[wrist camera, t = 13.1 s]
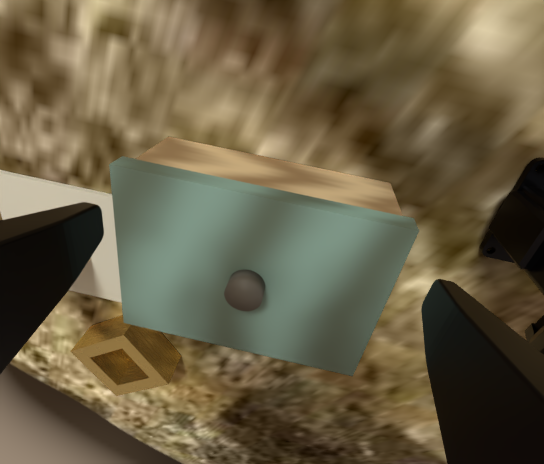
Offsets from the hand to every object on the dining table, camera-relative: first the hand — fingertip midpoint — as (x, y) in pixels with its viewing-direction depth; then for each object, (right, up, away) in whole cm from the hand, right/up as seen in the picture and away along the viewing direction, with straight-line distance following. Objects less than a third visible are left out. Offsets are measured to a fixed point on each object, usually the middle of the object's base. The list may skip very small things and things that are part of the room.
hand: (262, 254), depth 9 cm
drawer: (0, +1, +15) cm, 15 cm away
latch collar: (-12, -10, +23) cm, 28 cm away
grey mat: (-16, 0, +18) cm, 24 cm away
